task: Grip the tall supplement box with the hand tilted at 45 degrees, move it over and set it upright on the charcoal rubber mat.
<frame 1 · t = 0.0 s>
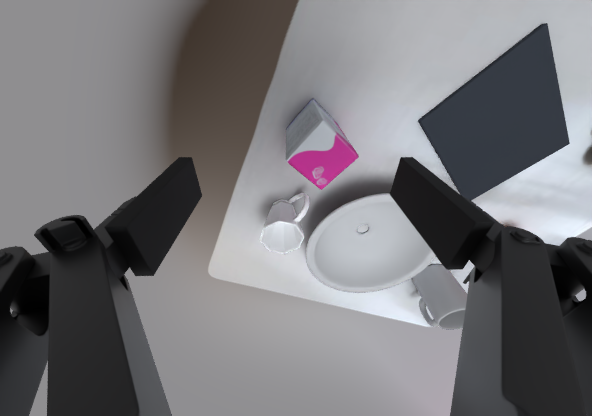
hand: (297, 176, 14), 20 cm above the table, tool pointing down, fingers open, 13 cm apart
mat: (494, 131, 33), on the table
mug: (425, 279, 54), on the table
white sink basin: (362, 227, 44), on the table
cup: (287, 203, 40), on the table
supplement box: (312, 127, 32), on the table
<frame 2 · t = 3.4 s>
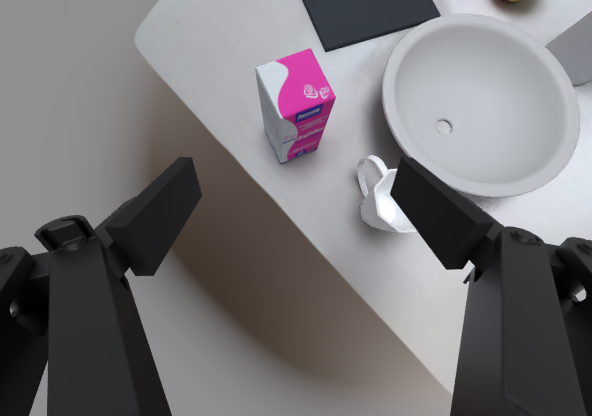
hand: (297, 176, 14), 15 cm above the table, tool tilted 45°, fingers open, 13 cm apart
mug: (574, 69, 35), on the table
white sink basin: (442, 128, 32), on the table
cup: (369, 202, 30), on the table
supplement box: (291, 141, 31), on the table
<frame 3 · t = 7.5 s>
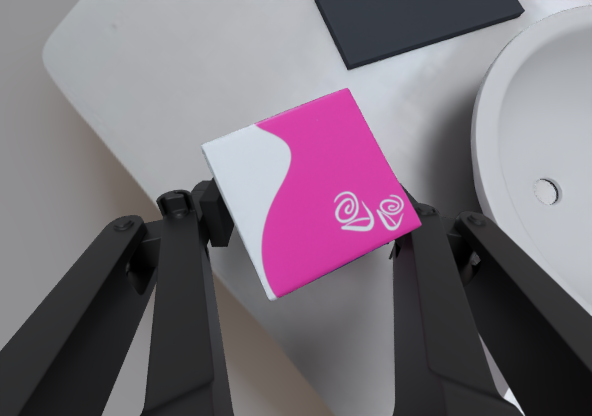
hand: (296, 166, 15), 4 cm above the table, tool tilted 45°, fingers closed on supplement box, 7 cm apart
white sink basin: (541, 192, 20), on the table
cup: (430, 329, 17), on the table
supplement box: (295, 221, 18), on the table, touching gripper
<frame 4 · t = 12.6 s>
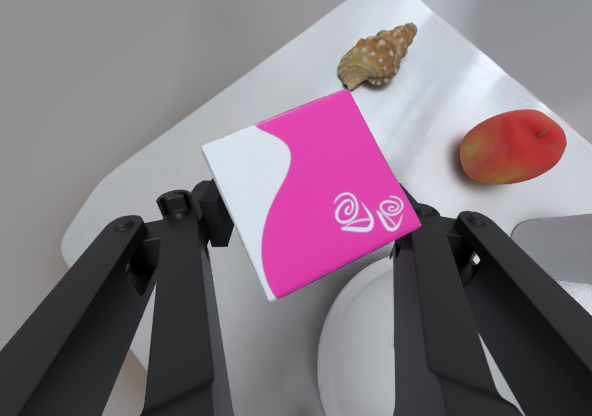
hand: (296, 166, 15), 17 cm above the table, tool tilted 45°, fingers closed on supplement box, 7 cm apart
seashell: (369, 70, 37), on the table
mug: (546, 255, 32), on the table
white sink basin: (398, 340, 29), on the table
apple: (471, 164, 34), on the table
supplement box: (295, 221, 18), point 13 cm above the table, touching gripper
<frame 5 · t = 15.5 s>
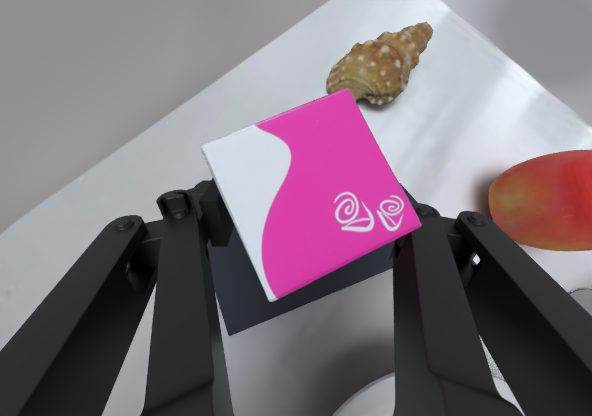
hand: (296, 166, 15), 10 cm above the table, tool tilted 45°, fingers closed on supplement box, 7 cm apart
mat: (293, 226, 24), on the table
seashell: (368, 83, 28), on the table
apple: (501, 210, 26), on the table
supplement box: (295, 221, 18), point 6 cm above the table, touching gripper
when the fingers open (4 cm above the table, at t = 17.5 s): supplement box stays where it is, resting on mat.
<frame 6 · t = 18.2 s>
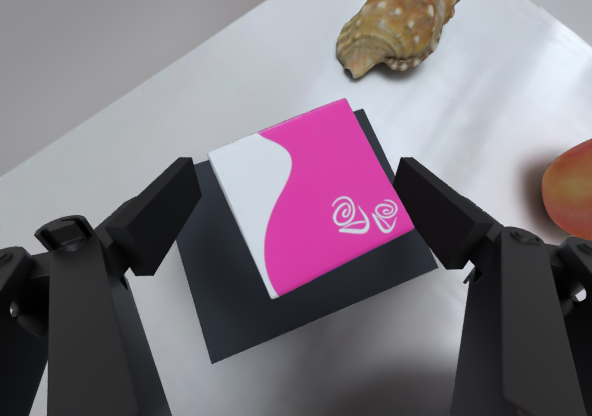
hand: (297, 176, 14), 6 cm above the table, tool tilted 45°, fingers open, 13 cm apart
mat: (295, 222, 19), on the table
seashell: (387, 48, 23), on the table
apple: (555, 202, 21), on the table
supplement box: (296, 222, 19), resting on mat
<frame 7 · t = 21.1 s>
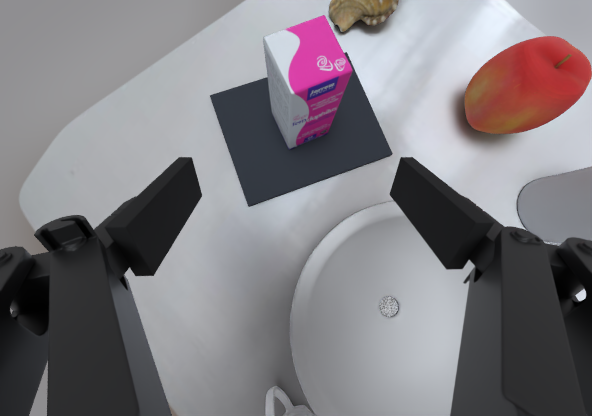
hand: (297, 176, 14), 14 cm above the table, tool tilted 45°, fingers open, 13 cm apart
mat: (300, 126, 29), on the table
seashell: (365, 11, 32), on the table
mug: (557, 218, 29), on the table
white sink basin: (387, 305, 26), on the table
apple: (477, 117, 30), on the table
cup: (292, 411, 25), on the table
supplement box: (300, 125, 29), resting on mat
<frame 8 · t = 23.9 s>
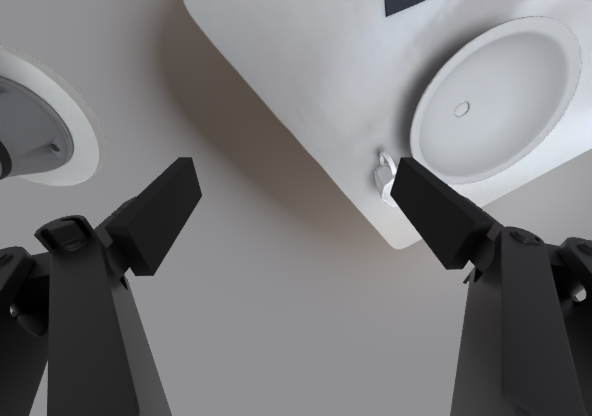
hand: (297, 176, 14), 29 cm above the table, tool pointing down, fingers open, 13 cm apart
white sink basin: (460, 109, 39), on the table
cup: (382, 166, 45), on the table
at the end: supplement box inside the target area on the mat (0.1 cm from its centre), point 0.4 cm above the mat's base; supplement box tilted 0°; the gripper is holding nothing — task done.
